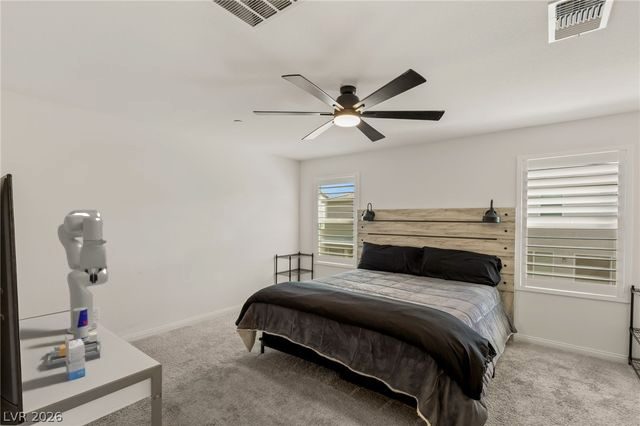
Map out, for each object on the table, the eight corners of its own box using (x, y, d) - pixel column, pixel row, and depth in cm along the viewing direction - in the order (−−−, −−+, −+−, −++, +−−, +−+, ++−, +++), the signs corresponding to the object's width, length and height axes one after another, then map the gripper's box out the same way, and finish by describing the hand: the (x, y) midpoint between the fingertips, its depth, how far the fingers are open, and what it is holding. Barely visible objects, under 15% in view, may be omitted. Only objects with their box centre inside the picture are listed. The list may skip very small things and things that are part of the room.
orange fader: (61, 355, 130) (60, 345, 130) (69, 353, 132) (69, 343, 132) (60, 359, 127) (59, 349, 127) (68, 357, 128) (68, 347, 128)
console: (52, 352, 139) (52, 345, 139) (100, 342, 148) (99, 336, 148) (46, 370, 122) (46, 362, 122) (100, 358, 132) (99, 350, 132)
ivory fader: (89, 341, 144) (89, 332, 144) (97, 340, 146) (96, 331, 145) (89, 344, 140) (89, 335, 140) (97, 343, 142) (96, 334, 142)
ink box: (85, 376, 117) (84, 336, 117) (69, 381, 114) (67, 340, 114) (82, 368, 123) (81, 330, 123) (65, 373, 120) (64, 334, 120)
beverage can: (80, 342, 149) (79, 310, 149) (70, 341, 150) (69, 310, 150) (91, 337, 155) (90, 307, 154) (81, 337, 156) (80, 306, 156)
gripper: (111, 241, 155) (112, 279, 155) (73, 243, 146) (74, 283, 147) (112, 243, 148) (113, 282, 149) (71, 245, 140) (72, 286, 140)
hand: (93, 282), depth 148 cm, fingers closed
